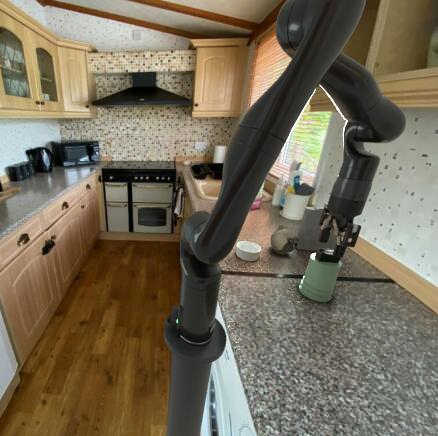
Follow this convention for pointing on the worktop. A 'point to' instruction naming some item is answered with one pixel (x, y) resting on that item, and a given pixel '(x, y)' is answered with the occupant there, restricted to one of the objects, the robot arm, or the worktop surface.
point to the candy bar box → (258, 199)
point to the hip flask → (313, 231)
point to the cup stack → (319, 279)
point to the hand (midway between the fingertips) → (329, 249)
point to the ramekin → (248, 250)
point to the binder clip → (326, 255)
